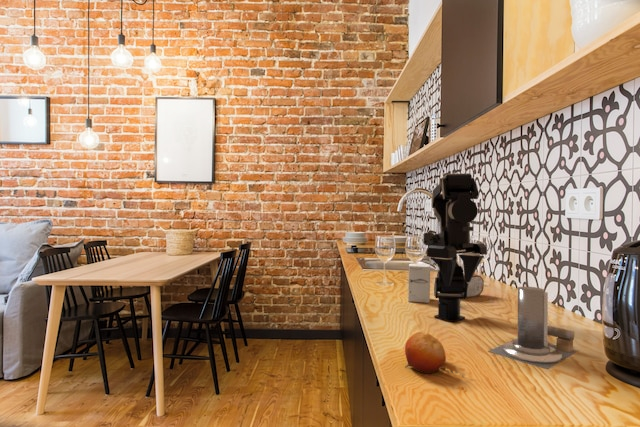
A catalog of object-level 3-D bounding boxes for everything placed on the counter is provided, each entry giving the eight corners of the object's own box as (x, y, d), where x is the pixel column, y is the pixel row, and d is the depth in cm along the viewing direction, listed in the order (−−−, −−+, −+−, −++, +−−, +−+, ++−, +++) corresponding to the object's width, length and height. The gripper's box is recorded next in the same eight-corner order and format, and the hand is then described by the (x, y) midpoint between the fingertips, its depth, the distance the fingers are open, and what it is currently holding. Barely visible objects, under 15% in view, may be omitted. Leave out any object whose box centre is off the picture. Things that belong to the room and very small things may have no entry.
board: (521, 341, 94) (521, 336, 94) (578, 355, 84) (578, 350, 84) (487, 356, 84) (487, 351, 84) (547, 375, 74) (547, 369, 74)
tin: (478, 294, 147) (478, 272, 147) (485, 296, 144) (485, 273, 144) (449, 298, 140) (449, 275, 140) (456, 300, 137) (456, 276, 137)
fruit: (407, 349, 84) (425, 321, 82) (437, 376, 80) (457, 348, 77) (388, 360, 78) (407, 331, 75) (420, 390, 74) (441, 360, 71)
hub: (513, 342, 87) (514, 284, 87) (549, 347, 84) (550, 287, 84) (511, 351, 81) (511, 290, 81) (549, 358, 78) (550, 293, 78)
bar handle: (517, 339, 91) (517, 320, 91) (522, 337, 93) (522, 318, 93) (570, 353, 83) (570, 332, 83) (574, 350, 84) (574, 330, 84)
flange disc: (517, 341, 90) (517, 338, 90) (570, 355, 81) (570, 351, 81) (493, 352, 83) (493, 348, 83) (548, 368, 75) (548, 364, 75)
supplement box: (407, 302, 135) (407, 265, 134) (409, 297, 142) (409, 262, 142) (429, 303, 132) (429, 266, 132) (430, 298, 139) (430, 263, 139)
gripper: (450, 222, 111) (450, 276, 110) (408, 222, 99) (408, 283, 99) (488, 222, 102) (488, 281, 102) (447, 223, 90) (447, 290, 90)
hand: (457, 284), depth 98 cm, fingers open, 9 cm apart
